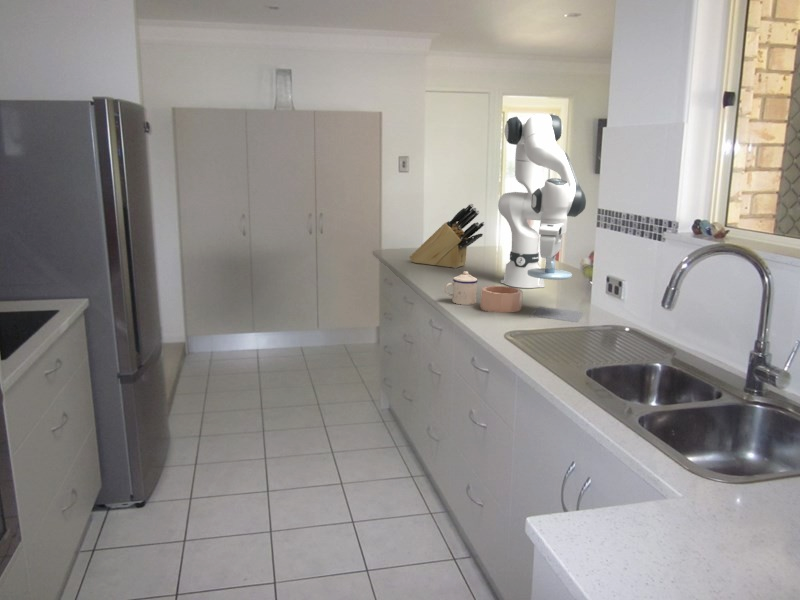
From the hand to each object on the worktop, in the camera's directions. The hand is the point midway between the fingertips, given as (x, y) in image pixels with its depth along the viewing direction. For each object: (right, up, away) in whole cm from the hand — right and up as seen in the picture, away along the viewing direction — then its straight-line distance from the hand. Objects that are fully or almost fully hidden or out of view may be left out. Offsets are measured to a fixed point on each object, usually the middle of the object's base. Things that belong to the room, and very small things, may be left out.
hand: (549, 267), depth 223 cm
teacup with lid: (-29, -12, +17) cm, 36 cm away
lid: (0, -3, +1) cm, 3 cm away
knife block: (-29, +6, +96) cm, 101 cm away
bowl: (-16, -15, +9) cm, 23 cm away
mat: (+3, -17, +2) cm, 17 cm away
